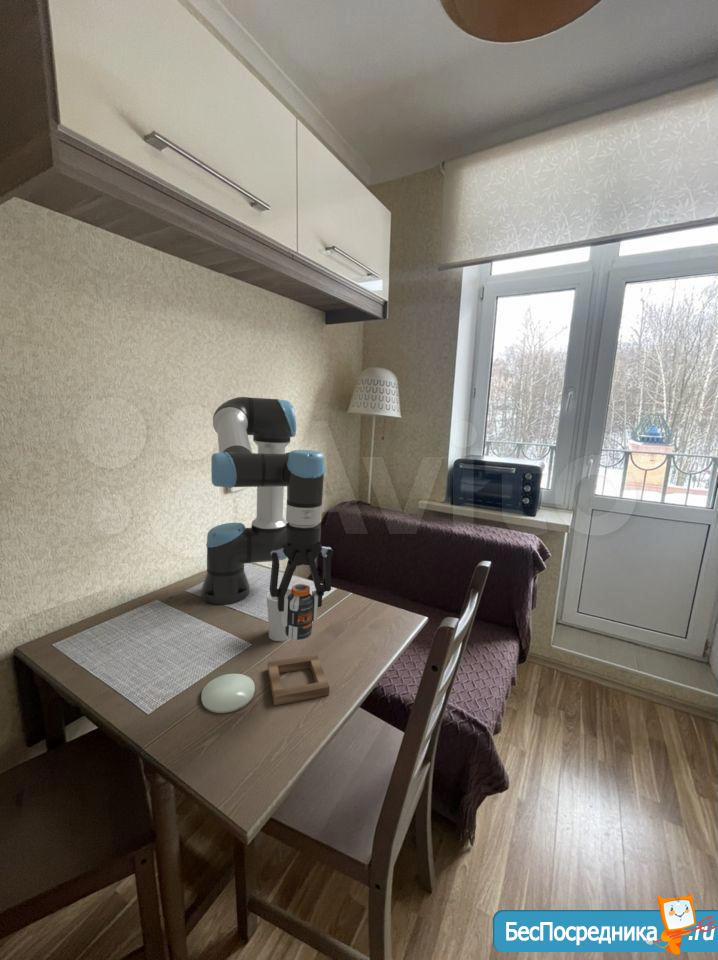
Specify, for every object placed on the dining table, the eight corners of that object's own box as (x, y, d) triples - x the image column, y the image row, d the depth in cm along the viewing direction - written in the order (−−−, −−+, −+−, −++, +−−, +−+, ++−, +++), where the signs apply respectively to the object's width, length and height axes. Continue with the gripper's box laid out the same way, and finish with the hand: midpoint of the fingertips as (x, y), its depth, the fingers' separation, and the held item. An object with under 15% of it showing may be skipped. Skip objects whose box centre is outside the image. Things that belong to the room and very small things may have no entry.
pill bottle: (298, 644, 83) (300, 596, 81) (279, 633, 86) (281, 586, 84) (317, 632, 88) (319, 586, 86) (299, 622, 91) (300, 578, 89)
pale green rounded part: (202, 681, 87) (202, 678, 87) (252, 673, 91) (252, 670, 90) (200, 718, 77) (200, 714, 77) (256, 707, 80) (256, 703, 80)
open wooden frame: (267, 669, 92) (267, 661, 92) (316, 661, 96) (316, 654, 96) (274, 705, 81) (274, 697, 81) (329, 694, 85) (329, 686, 85)
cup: (288, 645, 102) (289, 603, 100) (260, 640, 104) (261, 598, 102) (298, 629, 110) (300, 590, 108) (272, 624, 112) (273, 586, 110)
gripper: (259, 530, 76) (257, 636, 80) (350, 526, 82) (344, 625, 86) (256, 519, 83) (254, 617, 87) (340, 516, 89) (335, 608, 93)
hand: (299, 621), depth 87 cm, fingers closed on pill bottle, 6 cm apart
